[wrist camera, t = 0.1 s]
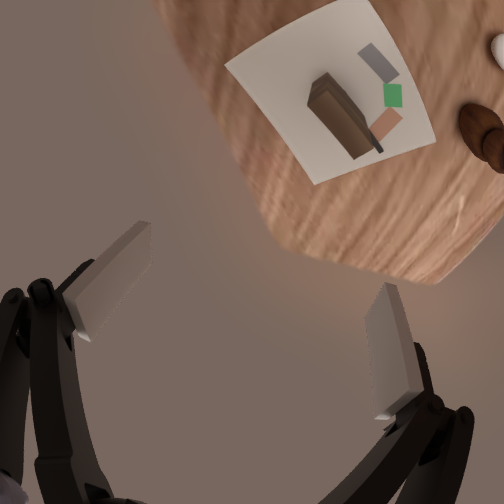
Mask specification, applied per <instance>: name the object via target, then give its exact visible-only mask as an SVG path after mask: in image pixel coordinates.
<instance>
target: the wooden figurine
mask: <svg viewBox="0 0 504 504" xmlns="http://www.w3.org/2000/svg"><path fill="white" fill-rule="evenodd" d="M459 123H460V129H461V133H462V137H463V140H464V142H465V143H466V145H467V146H468V147H469V149H470V150H471V151H472V153H473V154H474V155H475V156H476V157H478V158H479V159H481V160H482V161H485V162H488V164H489V165H490V166H491V168H492V169H494V170H495V171H496V172H498V173H501V174H504V125H503V123H502V121H501V119H500V118H499V116H498V115H497V114H496V113H495V112H493V111H492V110H490V109H488V108H486V107H484V106H481V105H477V104H470V105H467V106H465V107H464V108H463V109H462V111H461V113H460V118H459Z"/></svg>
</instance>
